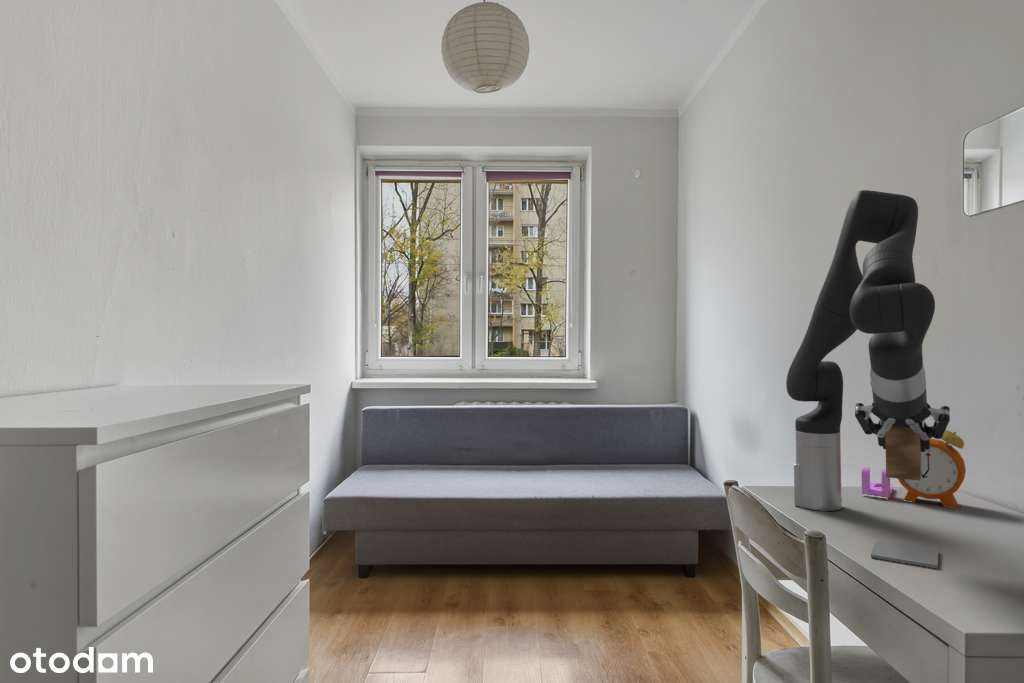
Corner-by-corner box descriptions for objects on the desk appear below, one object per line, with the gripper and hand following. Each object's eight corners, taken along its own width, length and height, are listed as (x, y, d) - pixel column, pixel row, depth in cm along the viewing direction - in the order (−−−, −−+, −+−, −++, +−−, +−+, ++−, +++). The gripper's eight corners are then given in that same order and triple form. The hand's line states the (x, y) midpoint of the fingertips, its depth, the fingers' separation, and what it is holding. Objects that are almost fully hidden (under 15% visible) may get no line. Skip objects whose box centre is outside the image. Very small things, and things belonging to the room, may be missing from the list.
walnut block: (886, 477, 106) (884, 414, 106) (888, 472, 110) (887, 411, 110) (920, 480, 103) (919, 416, 103) (921, 475, 107) (920, 413, 107)
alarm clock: (894, 500, 143) (892, 416, 143) (898, 495, 147) (897, 413, 148) (964, 510, 134) (962, 420, 134) (966, 504, 139) (964, 417, 139)
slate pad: (870, 557, 106) (870, 554, 106) (876, 543, 113) (876, 539, 113) (937, 569, 100) (937, 565, 100) (938, 552, 108) (938, 549, 108)
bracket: (888, 500, 144) (888, 470, 144) (862, 497, 147) (861, 468, 147) (893, 489, 155) (893, 461, 155) (868, 486, 158) (868, 459, 158)
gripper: (952, 366, 97) (953, 433, 106) (849, 366, 105) (859, 427, 115) (952, 402, 92) (953, 468, 102) (846, 399, 101) (856, 460, 110)
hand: (903, 446), depth 108 cm, fingers closed on walnut block, 5 cm apart
